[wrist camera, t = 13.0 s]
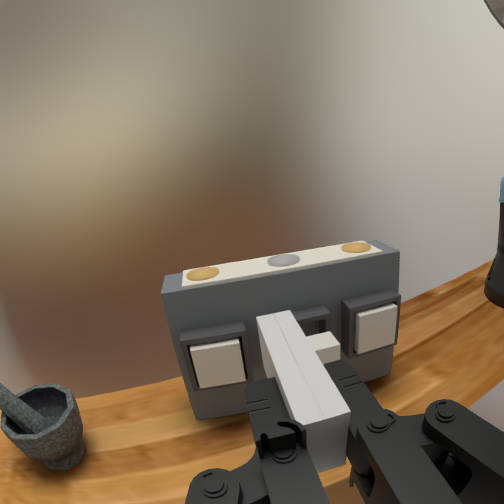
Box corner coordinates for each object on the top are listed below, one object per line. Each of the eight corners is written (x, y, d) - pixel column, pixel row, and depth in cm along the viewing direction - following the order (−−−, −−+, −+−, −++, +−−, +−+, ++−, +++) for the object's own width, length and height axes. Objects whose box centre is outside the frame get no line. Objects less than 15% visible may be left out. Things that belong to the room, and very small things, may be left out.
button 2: (383, 332, 33) (385, 297, 32) (394, 342, 31) (397, 306, 30) (348, 342, 33) (349, 306, 32) (358, 354, 31) (359, 316, 29)
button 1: (242, 366, 31) (236, 330, 30) (245, 380, 29) (239, 343, 28) (199, 373, 31) (190, 337, 30) (200, 388, 29) (190, 351, 27)
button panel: (372, 353, 41) (376, 235, 36) (398, 382, 34) (410, 251, 29) (195, 393, 38) (164, 271, 33) (197, 432, 31) (157, 297, 26)
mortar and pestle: (102, 423, 32) (64, 341, 29) (97, 480, 23) (41, 394, 20) (29, 428, 29) (-13, 351, 26) (14, 479, 21) (-45, 398, 17)
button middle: (329, 369, 29) (329, 331, 28) (339, 383, 27) (340, 344, 26) (285, 380, 28) (282, 341, 27) (292, 396, 26) (289, 356, 25)
